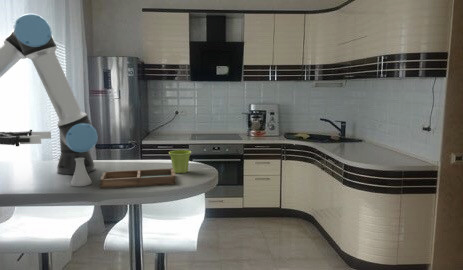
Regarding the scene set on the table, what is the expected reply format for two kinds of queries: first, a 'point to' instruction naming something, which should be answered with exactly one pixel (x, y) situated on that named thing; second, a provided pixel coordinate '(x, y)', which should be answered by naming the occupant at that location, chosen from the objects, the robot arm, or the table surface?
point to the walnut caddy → (137, 178)
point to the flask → (80, 174)
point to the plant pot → (180, 160)
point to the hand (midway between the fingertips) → (46, 137)
